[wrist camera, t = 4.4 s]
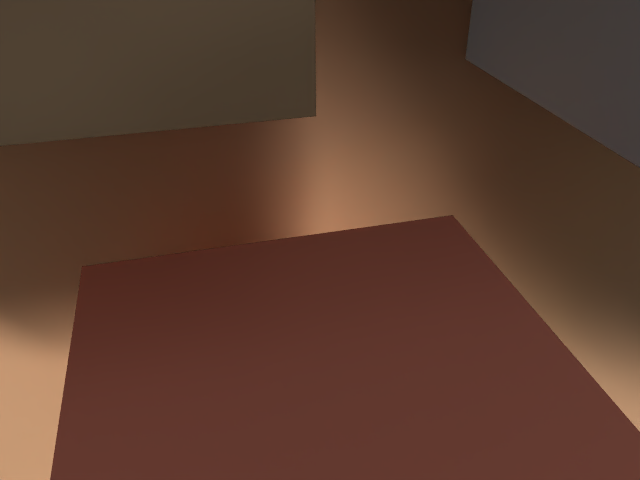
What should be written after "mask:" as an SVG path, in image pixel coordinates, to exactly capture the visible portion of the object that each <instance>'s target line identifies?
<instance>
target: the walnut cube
mask: <svg viewBox="0 0 640 480" xmlns="http://www.w3.org/2000/svg"><path fill="white" fill-rule="evenodd" d="M313 116H316V55H315V0H0V146H5V145H16V144H26V143H37V142H48V141H58V140H69V139H79V138H90V137H101V136H111V135H122V134H132V133H143V132H154V131H164V130H175V129H185V128H196V127H207V126H217V125H228V124H238V123H249V122H260V121H270V120H281V119H291V118H302V117H313Z"/></svg>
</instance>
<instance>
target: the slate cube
mask: <svg viewBox="0 0 640 480" xmlns="http://www.w3.org/2000/svg"><path fill="white" fill-rule="evenodd" d="M465 59H466V60H467V61H469V62H471V63H472V64H474V65H476V66H477V67H479V68H480V69H482V70H484V71H485V72H487V73H488V74H490V75H492V76H493V77H495V78H496V79H498V80H500V81H501V82H503V83H504V84H506V85H508V86H509V87H511V88H512V89H514V90H516V91H517V92H519V93H520V94H522V95H524V96H525V97H527V98H529V99H530V100H532V101H533V102H535V103H537V104H538V105H540V106H541V107H543V108H545V109H546V110H548V111H549V112H551V113H553V114H554V115H556V116H557V117H559V118H561V119H562V120H564V121H565V122H567V123H569V124H570V125H572V126H573V127H575V128H577V129H578V130H580V131H582V132H583V133H585V134H586V135H588V136H590V137H591V138H593V139H594V140H596V141H598V142H599V143H601V144H602V145H604V146H606V147H607V148H609V149H610V150H612V151H614V152H615V153H617V154H618V155H620V156H622V157H623V158H625V159H626V160H628V161H630V162H631V163H633V164H635V165H636V166H638V167H639V168H640V0H473V2H472V10H471V18H470V26H469V34H468V41H467V49H466V57H465Z"/></svg>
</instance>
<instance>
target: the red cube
mask: <svg viewBox="0 0 640 480" xmlns="http://www.w3.org/2000/svg"><path fill="white" fill-rule="evenodd" d="M50 480H640V432H639V431H638V429H637V428H636V427H635V426H634V425H633V424H632V423H631V421H630V420H629V419H628V418H627V417H626V416H625V414H624V413H623V412H622V411H621V410H620V409H619V407H618V406H617V405H616V404H615V403H614V402H613V401H612V399H611V398H610V397H609V396H608V395H607V394H606V392H605V391H604V390H603V389H602V388H601V387H600V385H599V384H598V383H597V382H596V381H595V380H594V379H593V377H592V376H591V375H590V374H589V373H588V372H587V370H586V369H585V368H584V367H583V366H582V365H581V363H580V362H579V361H578V360H577V359H576V358H575V357H574V355H573V354H572V353H571V352H570V351H569V350H568V348H567V347H566V346H565V345H564V344H563V343H562V341H561V340H560V339H559V338H558V337H557V336H556V335H555V333H554V332H553V331H552V330H551V329H550V328H549V326H548V325H547V324H546V323H545V322H544V321H543V319H542V318H541V317H540V316H539V315H538V314H537V313H536V311H535V310H534V309H533V308H532V307H531V306H530V304H529V303H528V302H527V301H526V300H525V299H524V297H523V296H522V295H521V294H520V293H519V292H518V291H517V289H516V288H515V287H514V286H513V285H512V284H511V282H510V281H509V280H508V279H507V278H506V277H505V275H504V274H503V273H502V272H501V271H500V270H499V269H498V267H497V266H496V265H495V264H494V263H493V262H492V260H491V259H490V258H489V257H488V256H487V255H486V253H485V252H484V251H483V250H482V249H481V248H480V247H479V245H478V244H477V243H476V242H475V241H474V240H473V238H472V237H471V236H470V235H469V234H468V233H467V231H466V230H465V229H464V228H463V227H462V226H461V225H460V223H459V222H458V221H457V220H456V219H455V218H454V216H453V215H451V216H444V217H437V218H429V219H422V220H415V221H408V222H401V223H393V224H386V225H379V226H372V227H364V228H357V229H350V230H343V231H335V232H328V233H321V234H314V235H307V236H299V237H292V238H285V239H278V240H270V241H263V242H256V243H249V244H241V245H234V246H227V247H220V248H213V249H205V250H198V251H191V252H184V253H176V254H169V255H162V256H155V257H148V258H140V259H133V260H126V261H119V262H111V263H104V264H97V265H90V266H82V272H81V278H80V285H79V292H78V298H77V305H76V312H75V318H74V325H73V332H72V338H71V345H70V352H69V358H68V365H67V371H66V378H65V385H64V391H63V398H62V405H61V411H60V418H59V425H58V431H57V438H56V445H55V451H54V458H53V465H52V471H51V478H50Z"/></svg>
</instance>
